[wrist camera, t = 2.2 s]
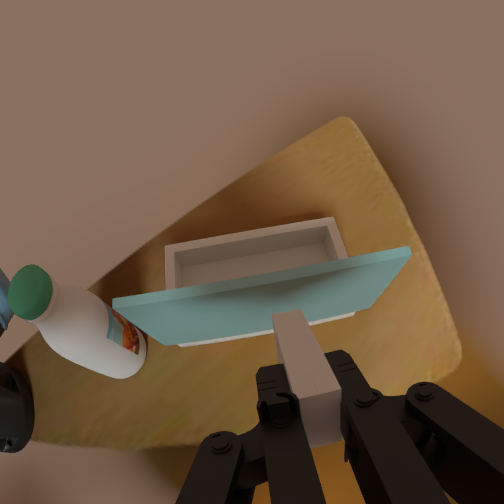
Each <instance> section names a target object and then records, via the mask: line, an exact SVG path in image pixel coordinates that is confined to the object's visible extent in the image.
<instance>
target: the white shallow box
mask: <svg viewBox="0 0 504 504" xmlns="http://www.w3.org/2000/svg"><path fill="white" fill-rule="evenodd" d="M345 258H348V255H347V252H346V250H345V247H344V244H343V241H342V239H341V236H340V233H339V231H338V228H337V225H336V223H335V220H334V217H327V218H321V219H315V220H309V221H303V222H297V223H291V224H285V225H279V226H273V227H267V228H261V229H255V230H250V231H244V232H238V233H232V234H227V235H221V236H216V237H210V238H204V239H199V240H194V241H188V242H183V243H177V244H172V245H167V246H165V280H166V290H171V289H177V288H183V287H189V286H195V285H201V284H207V283H213V282H219V281H225V280H230V279H236V278H242V277H248V276H253V275H259V274H264V273H270V272H276V271H281V270H287V269H292V268H297V267H303V266H308V265H313V264H319V263H324V262H329V261H334V260H340V259H345ZM354 314H355V312H351V313H347V314H343V315H339V316H334V317H330V318H325V319H321V320H316V321H312V322H308V324H309V326H310V325H314V324H319V323H324V322H328V321H333V320H337V319H341V318H345V317H350V316H353V315H354ZM269 333H274V329H271V330H266V331H260V332H255V333H249V334H243V335H237V336H231V337H225V338H218V339H211V340H205V341H198V342H190V343H183V344H178V345H179V346H180V347H187V346H194V345H202V344H209V343H216V342H222V341H229V340H235V339H241V338H247V337H253V336H258V335H264V334H269Z"/></svg>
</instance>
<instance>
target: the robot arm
mask: <svg viewBox="0 0 504 504" xmlns="http://www.w3.org/2000/svg"><path fill="white" fill-rule="evenodd" d="M9 286H10V281H9V280H8V279H7V277H6V276H5V274H4V273H3V272H2V270H1V269H0V337H1V335H2V334H3V332H4V331H5V330H7V327H8V323H9V321H10V320H11V318H12V316H13V315H14V313H13V311H12V310H11V309H10V307H9V305H8V289H9ZM271 316H272V322H273V328H274V335H275V341H276V347H277V353H278V359H279V363H280V364H276V365H271V366H266V367H260V368H259V370H258V372H257V374H256V382H257V390H258V398H259V401H258V402H257V411H258V415H259V419H260V421H259V423H258V424H257V425H256V427H254V428H253V429H252V430H250V431H248V432H246V433H244V434H241V435H236V434H234V433H233V432H228V431H221V432H216V433H213V434H210V435H209V436H207V437H206V438H205V439H204V440H203V441H202V443H201V445H200V447H199V450H198V452H197V454H196V457H195V459H194V461H193V464H192V466H191V468H190V471H189V473H188V475H187V478H186V480H185V483H184V485H183V487H182V489H181V492H180V494H179V496H178V498H177V501H176V503H175V504H252V500H253V495H254V491H255V486H257V485H259V484H261V483H264V482H266V481H268V483H269V491H270V498H271V504H326V501H325V498H324V494H323V491H322V487H321V484H320V480H319V477H318V474H317V470H316V467H315V463H314V460H313V456H312V453H311V450H310V448H315V447H319V446H323V445H327V444H331V443H335V442H338V441H341V433H342V435H343V437H344V440H345V452H344V453H345V454H344V460H345V462H347V461H348V459H349V462H350V464H351V467H352V470H353V472H354V475H355V477H356V480H357V483H358V485H359V488H360V490H361V493H362V495H363V498H364V500H365V503H366V504H450V502H449V500H448V498H447V497H446V495H445V493H444V492H443V490H444V491H445V492H446V493H447V494H448V495H449V496H451V497H452V498H453V499H454V500H455V501H456V502H457V503H458V504H504V429H502V428H501V427H499V426H498V425H496V424H495V423H493V422H492V421H490V420H489V419H487V418H486V417H484V416H483V415H481V414H480V413H478V412H477V411H475V410H474V409H472V408H471V407H469V406H468V405H466V404H465V403H463V402H462V401H460V400H459V399H457V398H456V397H454V396H453V395H452V394H450V393H449V392H447V391H446V390H444V389H442V388H441V387H439V386H438V385H436V384H434V383H431V382H419V383H416V384H414V385H412V386H411V387H410V388H409V389H408V391H407V393H406V395H400V396H383V394H382V393H381V392H380V391H378V390H376V389H373V388H371V387H370V386H369V384H368V383H367V381H366V379H365V378H364V376H363V375H362V373H361V372H360V370H359V368H358V367H357V365H356V364H355V363H354V361H353V359H352V357H351V356H350V354H348V353H346V352H345V351H343V350H337V351H333V352H329V353H323V351H322V349H321V347H320V345H319V343H318V341H317V339H316V337H315V336H314V334H313V332H312V330H311V328H310V326H309V324H308V322H307V320H306V318H305V316H304V314H303V312H302V310H301V309H297V310H292V311H287V312H282V313H277V314H271ZM33 423H34V409H33V402H32V397H31V394H30V390H29V388H28V385H27V383H26V381H25V379H24V378H23V376H22V375H21V374H20V373H19V371H18V370H16V369H15V368H14V367H12V366H10V365H7V364H5V363H2V362H0V452H6V453H16V452H19V451H20V450H22V449H23V448H24V447H25V446H26V445H27V443H28V441H29V439H30V437H31V434H32V430H33ZM442 489H443V490H442Z"/></svg>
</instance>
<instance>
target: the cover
mask: <svg viewBox="0 0 504 504" xmlns="http://www.w3.org/2000/svg"><path fill="white" fill-rule="evenodd" d="M411 256H412V253H411V250H410V248H409V246H404V247H400V248H395V249H390V250H385V251H380V252H375V253H370V254H365V255H360V256H355V257H350V258H345V259H340V260H334V261H329V262H324V263H319V264H313V265H308V266H303V267H297V268H292V269H287V270H281V271H276V272H270V273H264V274H259V275H253V276H248V277H242V278H236V279H230V280H225V281H219V282H213V283H207V284H201V285H195V286H189V287H183V288H177V289H171V290H164V291H158V292H152V293H146V294H139V295H133V296H126V297H120V298H113V300H112V309H114V310H115V311H116V312H118V313H119V314H120V315H122V316H123V317H124V318H126V319H127V320H129V321H130V322H131V323H133V324H134V325H136V326H137V327H138V328H140V329H141V330H143V331H144V332H145V333H147V334H148V335H150V336H151V337H153V338H154V339H156V340H157V341H159V342H160V343H162V344H163V345H165V346H167V345H175V344H183V343H190V342H198V341H205V340H211V339H218V338H225V337H231V336H237V335H243V334H249V333H255V332H260V331H266V330H271V329H274V328H273V322H272V316H271V314H277V313H282V312H287V311H292V310H297V309H301V310H302V312H303V314H304V316H305V318H306V320H307V322H312V321H316V320H321V319H325V318H330V317H334V316H339V315H343V314H347V313H351V312H356V311H360V310H364V309H368V308H370V307H371V306H372V304H373V303H374V302H375V301H376V300H377V298H378V297H379V296H380V295H381V294H382V292H383V291H384V290H385V289H386V288H387V286H388V285H389V284H390V283H391V281H392V280H393V279H394V278H395V276H396V275H397V274H398V273H399V271H400V270H401V269H402V267H403V266H404V265H405V263H406V262H407V261H408V260H409V258H410V257H411Z"/></svg>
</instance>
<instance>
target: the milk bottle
mask: <svg viewBox="0 0 504 504" xmlns="http://www.w3.org/2000/svg"><path fill="white" fill-rule="evenodd" d="M8 305H9V307H10V309H11V310H12V311H13V313H15V314H16V315H17V316H19V317H21V318H22V319H25V320H26V321H27V322H29V323H35V325H36V326H37V327H38V328H39V330H40V332H41V334H42V336H43V337H44V339H45V341H46V342H47V343H48V345H49V346H50V347H51V348H52V349H53V350H54V351H55V352H57V353H58V354H60V355H61V356H63V357H64V358H66V359H68V360H70V361H72V362H74V363H77V364H79V365H81V366H84V367H86V368H88V369H91V370H93V371H96V372H98V373H101V374H104V375H107V376H109V377H113V378H117V379H124V378H128V377H130V376H132V375H134V374H135V373H136V372H138V370H139V369H140V368H141V367H142V365H143V363H144V361H145V358H146V342H145V339H144V337H143V335H142V333H141V332H140V331H139V330H138V329H137V328H136V327H135V326H134V325H132V324H131V323H130V322H129V321H127V320H126V319H125V318H124V317H122V316H121V315H120V314H119V313H117V312H116V311H115V310H114V309H112V308H111V307H110V306H109V305H108V304H106V303H105V302H104V301H103V300H101V299H100V298H99V297H97V296H96V295H95V294H93V293H91V292H90V291H88V290H86V289H83V288H80V287H76V286H68V285H67V286H66V285H59V284H56V283H55V281H54V280H53V278H52V277H51V276H49V275H48V274H47V273H46V272H45V271H44V270H43V269H41V268H40V267H39V266H36V265H27V266H25V267H23V268H22V269H20V270H19V271H18V272H17V273H16V275H15V276H14V277H13V279H12V281H11V283H10V286H9V289H8Z"/></svg>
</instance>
